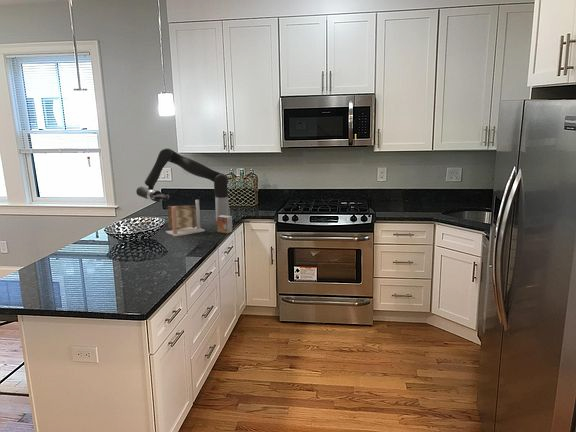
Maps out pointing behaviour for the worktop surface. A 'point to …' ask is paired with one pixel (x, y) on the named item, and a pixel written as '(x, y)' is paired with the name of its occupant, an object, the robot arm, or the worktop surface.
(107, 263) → the worktop surface
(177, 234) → the gate frame
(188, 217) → the panel
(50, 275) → the worktop surface
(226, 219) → the small box
